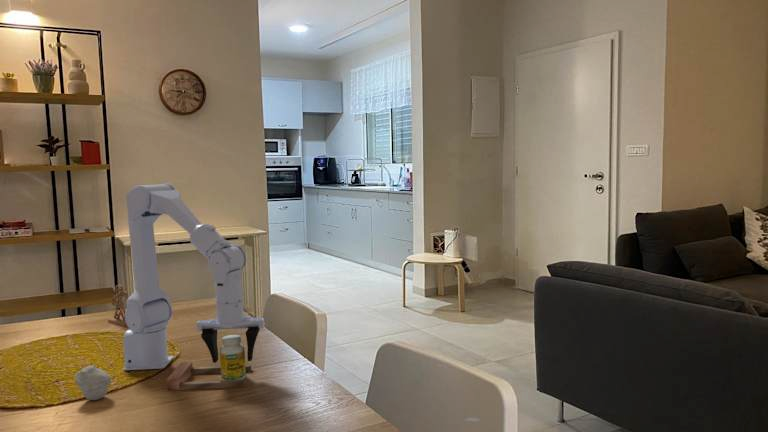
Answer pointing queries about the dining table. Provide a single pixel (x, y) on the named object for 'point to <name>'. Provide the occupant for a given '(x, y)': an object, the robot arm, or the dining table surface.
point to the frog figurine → (93, 382)
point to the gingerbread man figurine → (118, 319)
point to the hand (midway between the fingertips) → (232, 360)
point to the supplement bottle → (232, 358)
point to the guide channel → (185, 370)
